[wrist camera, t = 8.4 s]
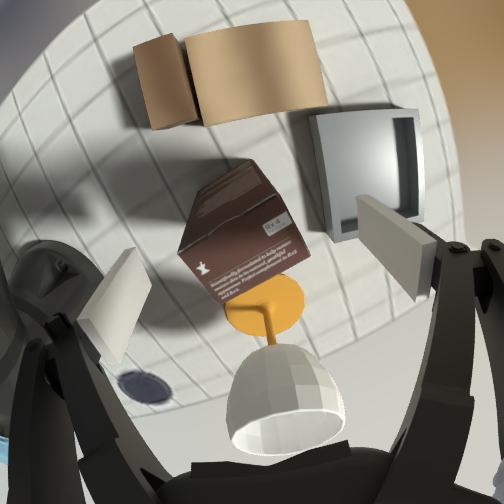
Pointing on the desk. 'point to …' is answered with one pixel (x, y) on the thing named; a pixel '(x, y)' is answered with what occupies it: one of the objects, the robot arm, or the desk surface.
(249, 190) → the box
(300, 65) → the light brown wooden block
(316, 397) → the cup
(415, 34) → the desk surface
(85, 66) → the desk surface
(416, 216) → the tray
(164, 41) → the brown rectangular block
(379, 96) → the desk surface
